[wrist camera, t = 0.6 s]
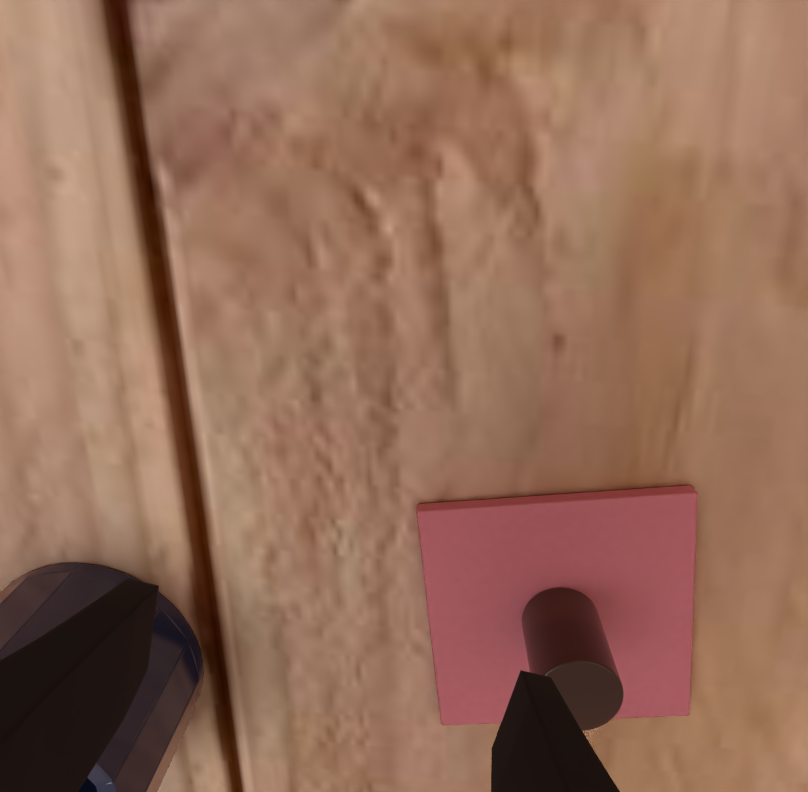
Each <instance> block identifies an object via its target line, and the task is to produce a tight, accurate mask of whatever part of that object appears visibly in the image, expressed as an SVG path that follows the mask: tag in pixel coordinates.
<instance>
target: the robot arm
mask: <svg viewBox="0 0 808 792" xmlns="http://www.w3.org/2000/svg"><path fill="white" fill-rule="evenodd" d="M158 587H159V586H157V585H153V584H148V583H144V582H140V581H135V580H131V579H126V580H125V581H123V582H121V583H120V584H118V585H117V586H115V587H114V588H112V589H111V590H109V591H108V592H106V593H105V594H104V595H102V596H101V597H99V598H98V599H96V600H95V601H93V602H92V603H90V604H89V605H87V606H86V607H85V608H83V609H82V610H80V611H79V612H77V613H76V614H74V615H73V616H71V617H70V618H68V619H67V620H65V621H63V622H62V623H60V624H59V625H57V626H56V627H54V628H52V629H51V630H49V631H48V632H46V633H45V634H43V635H42V636H40V637H38V638H37V639H35V640H34V641H32V642H30V643H29V644H27V645H26V646H24V647H22V648H20V649H19V650H17V651H15V652H14V653H12V654H10V655H8V656H7V657H5V658H3V659H1V660H0V792H78V791H79V790H80V788H81V787H82V785H83V783H84V782H85V780H86V779H87V777H88V775H89V774H90V772H91V771H92V769H93V768H94V766H95V764H96V763H97V761H98V760H99V758H100V757H101V755H102V753H103V752H104V750H105V749H106V747H107V745H108V744H109V742H110V741H111V739H112V737H113V736H114V734H115V733H116V731H117V729H118V728H119V726H120V724H121V723H122V721H123V720H124V718H125V716H126V714H127V712H128V710H129V708H130V705H131V703H132V701H133V699H134V697H135V695H136V693H137V691H138V689H139V687H140V685H141V683H142V681H143V678H144V676H145V674H146V672H147V670H148V664H149V656H150V649H151V641H152V633H153V626H154V618H155V610H156V602H157V595H158ZM491 792H620V791H619V790H618V788H617V787H616V785H615V784H614V782H613V780H612V779H611V777H610V776H609V774H608V773H607V771H606V769H605V768H604V766H603V765H602V763H601V761H600V760H599V758H598V757H597V755H596V753H595V752H594V750H593V748H592V747H591V745H590V743H589V742H588V740H587V738H586V737H585V735H584V733H583V732H582V730H581V728H580V727H579V725H578V723H577V721H576V720H575V718H574V716H573V714H572V713H571V711H570V709H569V707H568V706H567V704H566V702H565V701H564V699H563V697H562V695H561V694H560V692H559V690H558V688H557V687H556V685H555V683H554V682H553V680H552V678H551V677H548V676H543V675H539V674H535V673H531V672H526V671H522V670H520V673H519V676H518V679H517V681H516V684H515V687H514V690H513V692H512V695H511V698H510V700H509V703H508V706H507V709H506V711H505V714H504V717H503V720H502V722H501V725H500V728H499V730H498V733H497V736H496V739H495V741H494V744H493V747H492V774H491Z"/></svg>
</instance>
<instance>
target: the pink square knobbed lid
mask: <svg viewBox="0 0 808 792" xmlns="http://www.w3.org/2000/svg"><path fill="white" fill-rule="evenodd" d="M697 497H698V493H697V492H696V490H695V489H694V488H693V486H691V485H685V486H671V487H657V488H642V489H628V490H614V491H599V492H585V493H571V494H556V495H542V496H527V497H513V498H499V499H484V500H470V501H456V502H441V503H427V504H418V505H417V521H418V530H419V538H420V547H421V556H422V564H423V573H424V581H425V590H426V599H427V607H428V616H429V624H430V633H431V642H432V650H433V659H434V668H435V676H436V685H437V693H438V702H439V711H440V719H441V724H442V725H459V724H485V723H501V722H502V720H503V717H504V714H505V711H506V709H507V706H508V703H509V700H510V698H511V695H512V692H513V690H514V687H515V684H516V681H517V679H518V676H519V673H520V670H522V671H526V672H531V673H535V674H539V675H543V676H548V677H551V678H552V680H553V682H554V683H555V685H556V687H557V688H558V690H559V692H560V694H561V695H562V697H563V699H564V701H565V702H566V704H567V706H568V707H569V709H570V711H571V713H572V714H573V716H574V718H575V720H576V721H577V723H578V725H579V727H580V728H581V730H582V731H583V730H590V729H594V728H597V727H599V726H602V725H603V724H605V723H607V722H608V721H610V720H611V719H612V718H637V717H662V716H688V715H690V694H691V666H692V638H693V610H694V582H695V553H696V525H697Z"/></svg>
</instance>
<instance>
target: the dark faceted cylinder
mask: <svg viewBox="0 0 808 792" xmlns="http://www.w3.org/2000/svg"><path fill="white" fill-rule="evenodd" d="M126 579H131V580H135V581H140V580H138V579H136V578H134V577H132V576H130V575H127V574H125V573H123V572H120V571H117V570H114V569H110V568H107V567H103V566H98V565H92V564H82V563H64V564H56V565H50V566H45V567H42V568H39V569H36V570H33V571H31V572H28V573H26V574H24V575H22V576H21V577H19V578H18V579H16V580H15V581H13V582H12V583H11V584H10V585H8V586H7V587H6V588H5V589H4V590H3V591H1V592H0V660H1V659H3V658H5V657H7V656H8V655H10V654H12V653H14V652H15V651H17V650H19V649H20V648H22V647H24V646H26V645H27V644H29V643H30V642H32V641H34V640H35V639H37V638H38V637H40V636H42V635H43V634H45V633H46V632H48V631H49V630H51V629H52V628H54V627H56V626H57V625H59V624H60V623H62V622H63V621H65V620H67V619H68V618H70V617H71V616H73V615H74V614H76V613H77V612H79V611H80V610H82V609H83V608H85V607H86V606H87V605H89V604H90V603H92V602H93V601H95V600H96V599H98V598H99V597H101V596H102V595H104V594H105V593H106V592H108V591H109V590H111V589H112V588H114V587H115V586H117V585H118V584H120V583H121V582H123V581H125V580H126ZM140 582H142V581H140ZM202 683H203V660H202V655H201V651H200V647H199V645H198V642H197V639H196V637H195V635H194V633H193V631H192V629H191V628H190V626H189V624H188V623H187V621H186V620H185V619H184V617H183V616H182V614H181V613H180V612H179V611H178V610H177V609H176V608H175V607H174V606H173V604H172V603H171V602H169V601H168V600H167V599H166V598H165V597H164V596H163V595H161V594H160V593H159V592H158V595H157V602H156V610H155V618H154V626H153V633H152V641H151V649H150V656H149V664H148V670H147V672H146V674H145V676H144V678H143V681H142V683H141V685H140V687H139V689H138V691H137V693H136V695H135V697H134V699H133V701H132V703H131V705H130V708H129V710H128V712H127V714H126V716H125V718H124V720H123V721H122V723H121V724H120V726H119V728H118V729H117V731H116V733H115V734H114V736H113V737H112V739H111V741H110V742H109V744H108V745H107V747H106V749H105V750H104V752H103V753H102V755H101V757H100V758H99V760H98V761H97V763H96V764H95V766H94V768H93V769H92V771H91V772H90V774H89V775H88V777H87V779H86V780H85V782H84V783H83V785H82V787H81V788H80V790H79V791H78V792H157V791H158V789H159V787H160V785H161V782H162V780H163V778H164V776H165V774H166V772H167V769H168V767H169V765H170V763H171V761H172V758H173V756H174V754H175V752H176V750H177V748H178V745H179V743H180V741H181V739H182V737H183V734H184V732H185V730H186V728H187V726H188V724H189V721H190V719H191V717H192V715H193V713H194V709H195V703H196V701H197V699H198V697H199V695H200V691H201V687H202Z"/></svg>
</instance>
